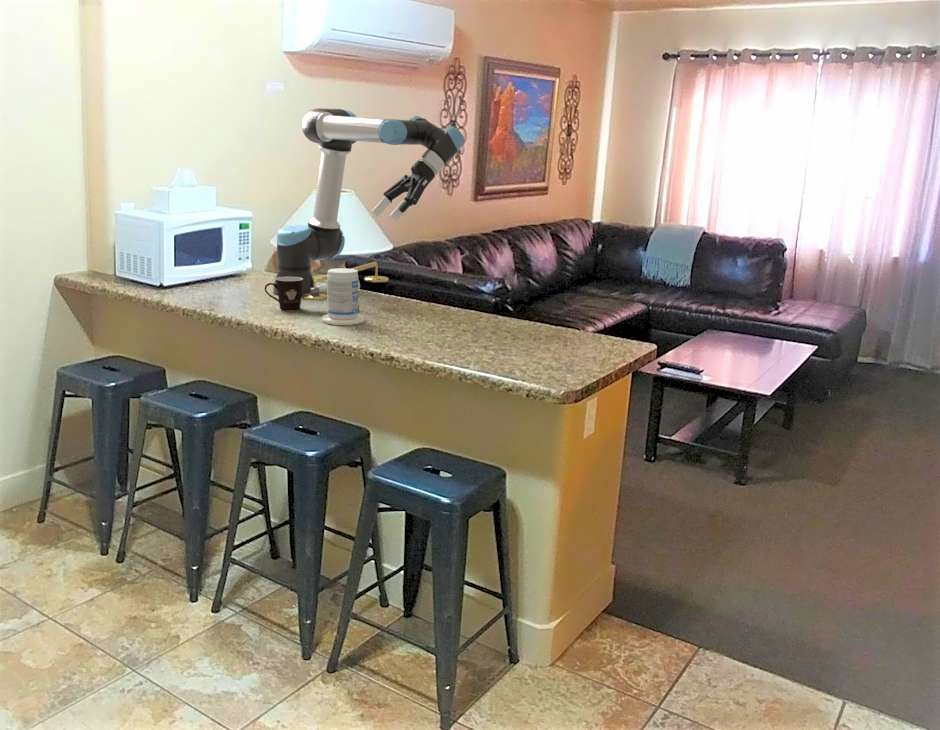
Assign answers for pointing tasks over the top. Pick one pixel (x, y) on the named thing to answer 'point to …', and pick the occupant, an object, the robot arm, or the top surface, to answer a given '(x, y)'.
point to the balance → (315, 291)
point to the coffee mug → (288, 292)
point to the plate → (342, 322)
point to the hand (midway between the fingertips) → (383, 216)
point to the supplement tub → (342, 293)
